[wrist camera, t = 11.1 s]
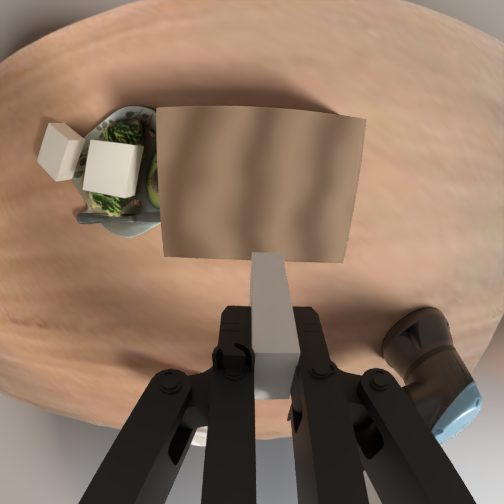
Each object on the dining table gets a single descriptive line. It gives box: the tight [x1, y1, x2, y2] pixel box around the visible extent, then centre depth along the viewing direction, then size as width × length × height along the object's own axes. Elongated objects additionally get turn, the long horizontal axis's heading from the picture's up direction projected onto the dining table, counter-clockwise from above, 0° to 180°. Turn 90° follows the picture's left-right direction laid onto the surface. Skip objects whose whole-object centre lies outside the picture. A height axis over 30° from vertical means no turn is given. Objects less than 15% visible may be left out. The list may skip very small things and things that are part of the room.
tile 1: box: [83, 140, 144, 198], centre depth 31 cm, size 6×6×3 cm
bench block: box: [156, 106, 366, 263], centre depth 32 cm, size 20×16×9 cm
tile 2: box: [37, 123, 86, 182], centre depth 31 cm, size 6×6×3 cm
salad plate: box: [72, 105, 161, 238], centre depth 35 cm, size 19×18×5 cm
